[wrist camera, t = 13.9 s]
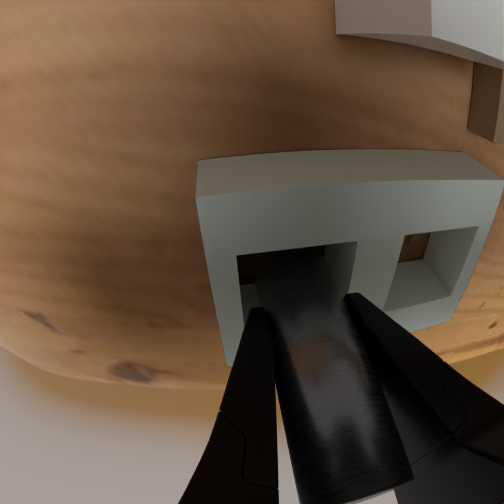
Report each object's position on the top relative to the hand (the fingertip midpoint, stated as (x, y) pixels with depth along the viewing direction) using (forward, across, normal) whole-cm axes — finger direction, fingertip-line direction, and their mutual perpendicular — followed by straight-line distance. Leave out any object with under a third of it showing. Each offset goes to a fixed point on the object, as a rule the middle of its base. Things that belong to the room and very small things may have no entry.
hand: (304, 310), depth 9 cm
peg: (+2, 0, 0) cm, 2 cm away
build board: (+3, -2, 0) cm, 4 cm away
